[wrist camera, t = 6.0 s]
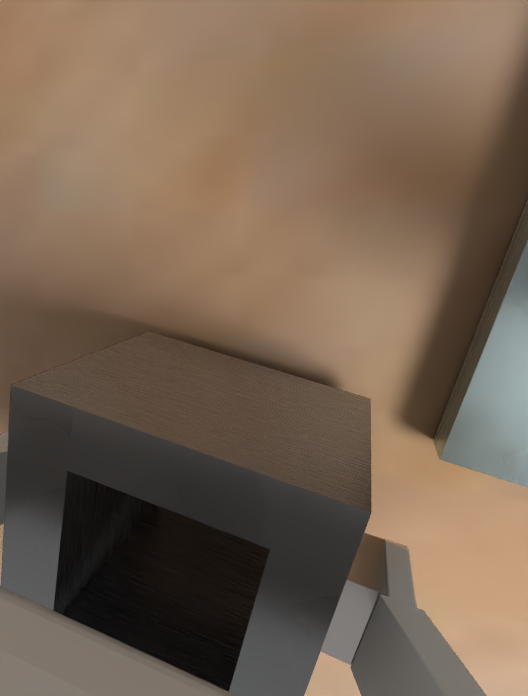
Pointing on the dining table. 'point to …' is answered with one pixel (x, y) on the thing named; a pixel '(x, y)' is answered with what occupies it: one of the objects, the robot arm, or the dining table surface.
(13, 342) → the dining table surface
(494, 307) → the grey plate with post
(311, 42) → the dining table surface
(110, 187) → the dining table surface
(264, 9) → the dining table surface
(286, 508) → the end link
